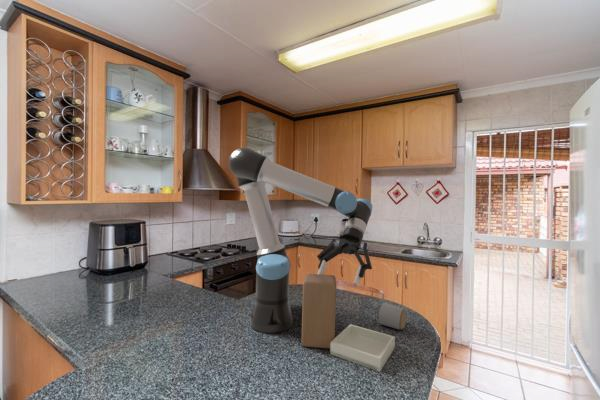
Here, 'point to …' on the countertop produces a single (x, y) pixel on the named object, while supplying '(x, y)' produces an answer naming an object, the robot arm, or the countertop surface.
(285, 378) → the countertop surface
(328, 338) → the wooden block
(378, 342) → the sage tray
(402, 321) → the ceramic mug
